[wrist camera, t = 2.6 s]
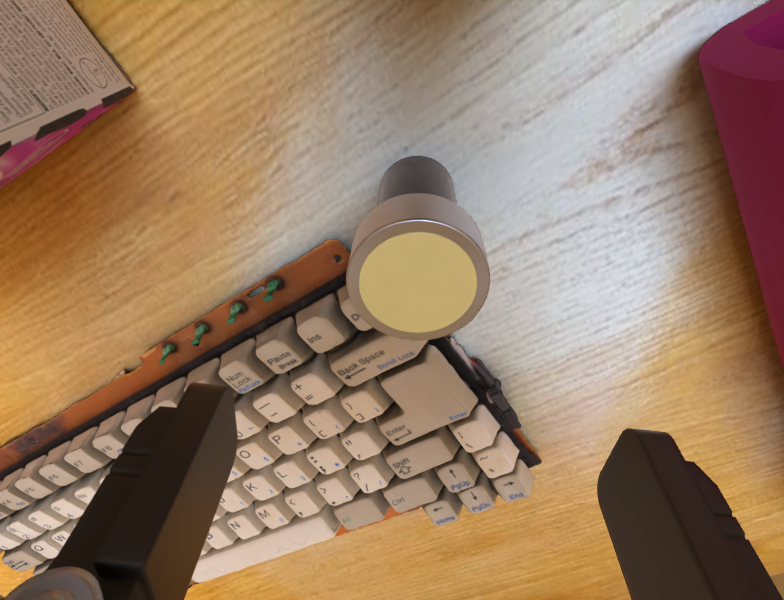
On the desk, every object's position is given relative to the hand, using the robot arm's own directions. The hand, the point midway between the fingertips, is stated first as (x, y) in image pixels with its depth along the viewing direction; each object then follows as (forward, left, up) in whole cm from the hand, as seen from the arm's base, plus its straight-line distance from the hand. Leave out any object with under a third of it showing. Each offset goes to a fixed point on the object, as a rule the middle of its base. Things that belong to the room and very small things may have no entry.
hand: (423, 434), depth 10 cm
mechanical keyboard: (-2, -23, -14) cm, 27 cm away
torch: (0, 0, -13) cm, 13 cm away
